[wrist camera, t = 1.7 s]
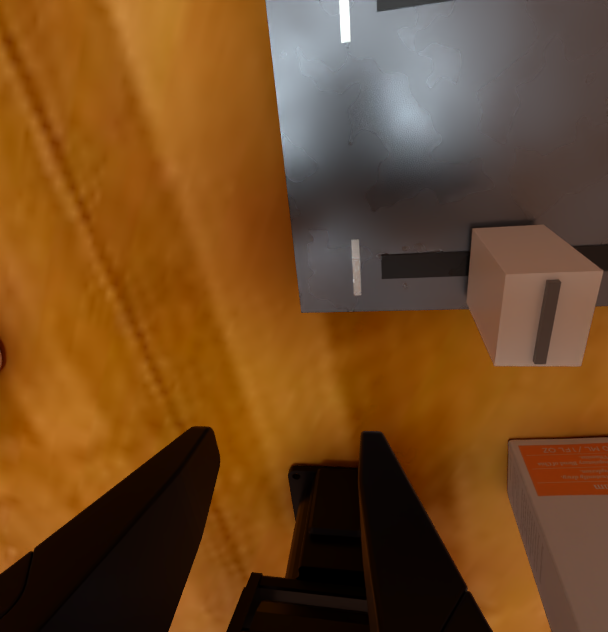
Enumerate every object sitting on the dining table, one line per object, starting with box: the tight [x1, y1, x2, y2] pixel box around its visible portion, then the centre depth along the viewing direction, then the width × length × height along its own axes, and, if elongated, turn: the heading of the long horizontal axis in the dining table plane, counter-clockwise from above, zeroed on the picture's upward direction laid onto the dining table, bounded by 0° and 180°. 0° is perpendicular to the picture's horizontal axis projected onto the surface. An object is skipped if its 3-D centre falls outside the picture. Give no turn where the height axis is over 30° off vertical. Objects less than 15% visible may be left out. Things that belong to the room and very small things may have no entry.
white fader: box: [466, 225, 603, 366], centre depth 14 cm, size 3×2×5 cm
